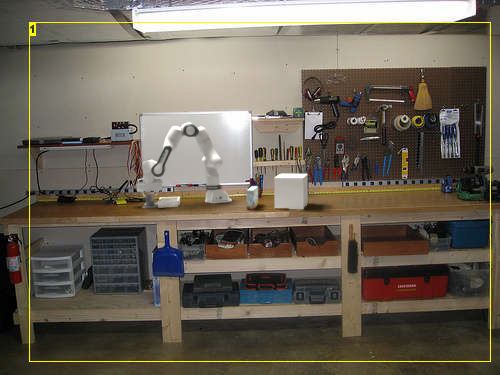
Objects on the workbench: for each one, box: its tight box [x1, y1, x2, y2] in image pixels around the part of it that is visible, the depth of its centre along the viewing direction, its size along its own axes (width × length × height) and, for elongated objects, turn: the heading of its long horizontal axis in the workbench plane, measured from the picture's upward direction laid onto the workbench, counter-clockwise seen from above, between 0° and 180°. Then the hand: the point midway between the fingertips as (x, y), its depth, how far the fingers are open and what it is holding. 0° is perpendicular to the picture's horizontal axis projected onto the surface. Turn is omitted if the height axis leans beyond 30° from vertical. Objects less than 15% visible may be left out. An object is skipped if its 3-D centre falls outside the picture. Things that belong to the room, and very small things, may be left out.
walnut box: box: [145, 192, 156, 207], centre depth 302 cm, size 5×12×9 cm, turn 6°
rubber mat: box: [141, 202, 158, 209], centre depth 302 cm, size 11×16×1 cm
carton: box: [157, 196, 181, 209], centre depth 304 cm, size 16×18×5 cm
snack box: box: [246, 185, 259, 210], centre depth 288 cm, size 21×6×15 cm, turn 168°
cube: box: [273, 173, 309, 210], centre depth 286 cm, size 25×21×24 cm
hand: (150, 196), depth 302 cm, fingers open, 8 cm apart
